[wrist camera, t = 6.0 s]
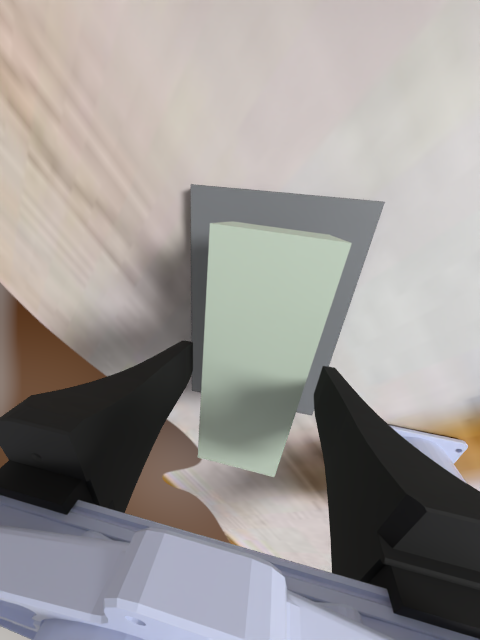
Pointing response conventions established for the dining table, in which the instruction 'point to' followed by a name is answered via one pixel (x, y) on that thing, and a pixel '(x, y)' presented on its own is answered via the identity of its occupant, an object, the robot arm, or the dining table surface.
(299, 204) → the peg stand
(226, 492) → the dining table surface
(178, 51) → the dining table surface
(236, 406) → the pale green block
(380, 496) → the robot arm
